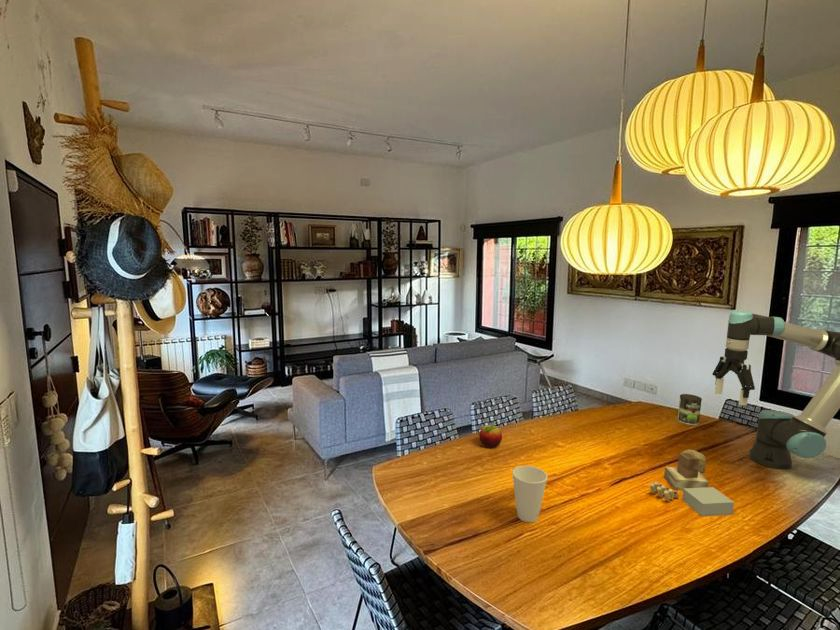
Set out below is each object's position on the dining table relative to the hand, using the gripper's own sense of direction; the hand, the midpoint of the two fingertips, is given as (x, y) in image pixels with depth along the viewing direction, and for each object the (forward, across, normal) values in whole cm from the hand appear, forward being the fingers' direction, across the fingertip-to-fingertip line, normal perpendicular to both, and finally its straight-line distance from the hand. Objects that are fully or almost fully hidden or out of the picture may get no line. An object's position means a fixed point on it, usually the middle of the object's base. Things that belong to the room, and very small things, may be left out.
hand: (730, 399), depth 182 cm
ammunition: (+33, +17, -35) cm, 51 cm away
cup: (+33, +28, -91) cm, 101 cm away
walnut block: (+28, +9, -21) cm, 36 cm away
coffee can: (+33, -55, +22) cm, 68 cm away
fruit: (+33, -28, -93) cm, 103 cm away
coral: (+33, -4, -10) cm, 35 cm away
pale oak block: (+33, +9, -21) cm, 40 cm away
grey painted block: (+33, +24, -23) cm, 47 cm away
